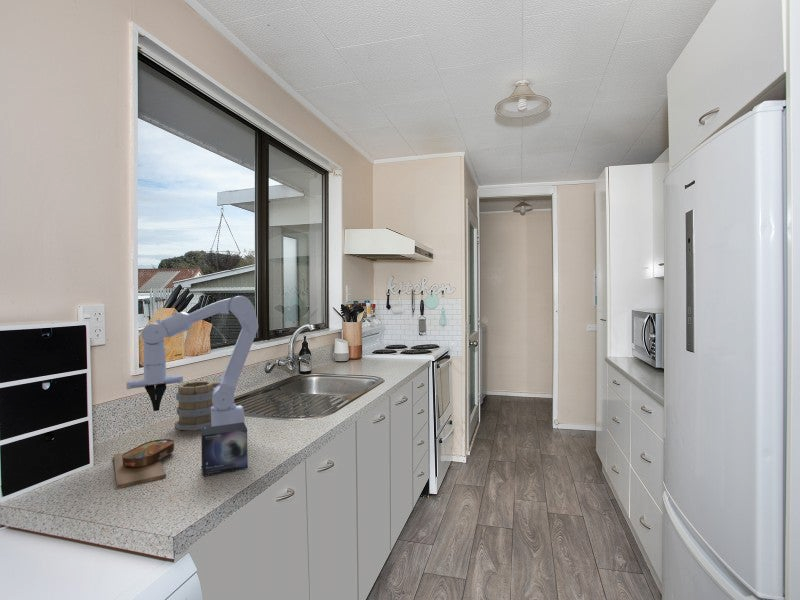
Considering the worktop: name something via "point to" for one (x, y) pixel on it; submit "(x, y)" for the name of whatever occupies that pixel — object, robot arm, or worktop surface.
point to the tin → (148, 453)
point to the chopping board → (136, 472)
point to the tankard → (194, 405)
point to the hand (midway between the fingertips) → (156, 410)
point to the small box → (224, 448)
